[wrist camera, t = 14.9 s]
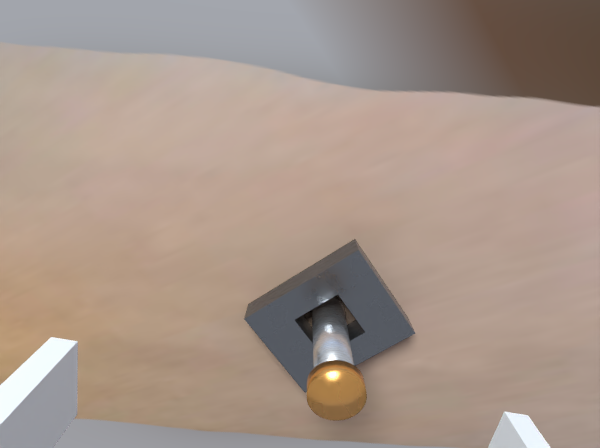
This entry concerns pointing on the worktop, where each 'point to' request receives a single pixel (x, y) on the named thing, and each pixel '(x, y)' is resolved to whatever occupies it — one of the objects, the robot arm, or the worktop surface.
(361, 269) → the plate
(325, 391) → the steel pin
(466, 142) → the worktop surface
